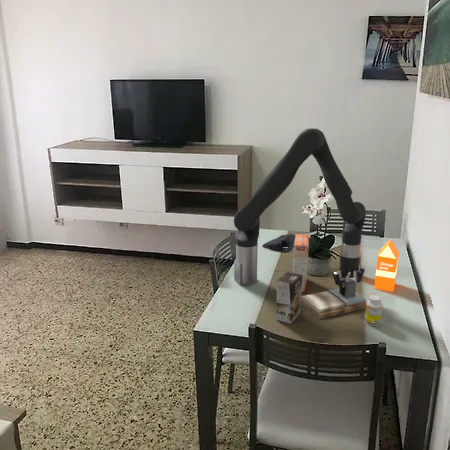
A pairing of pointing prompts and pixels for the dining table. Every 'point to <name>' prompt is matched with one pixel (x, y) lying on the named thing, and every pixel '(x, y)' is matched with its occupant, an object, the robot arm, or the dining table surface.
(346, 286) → the grey cube on base
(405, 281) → the dining table surface
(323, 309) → the board
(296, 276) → the coffee box
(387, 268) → the orange juice
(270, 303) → the dining table surface
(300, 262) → the cracker box
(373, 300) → the supplement bottle
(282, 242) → the dark slate chunk
